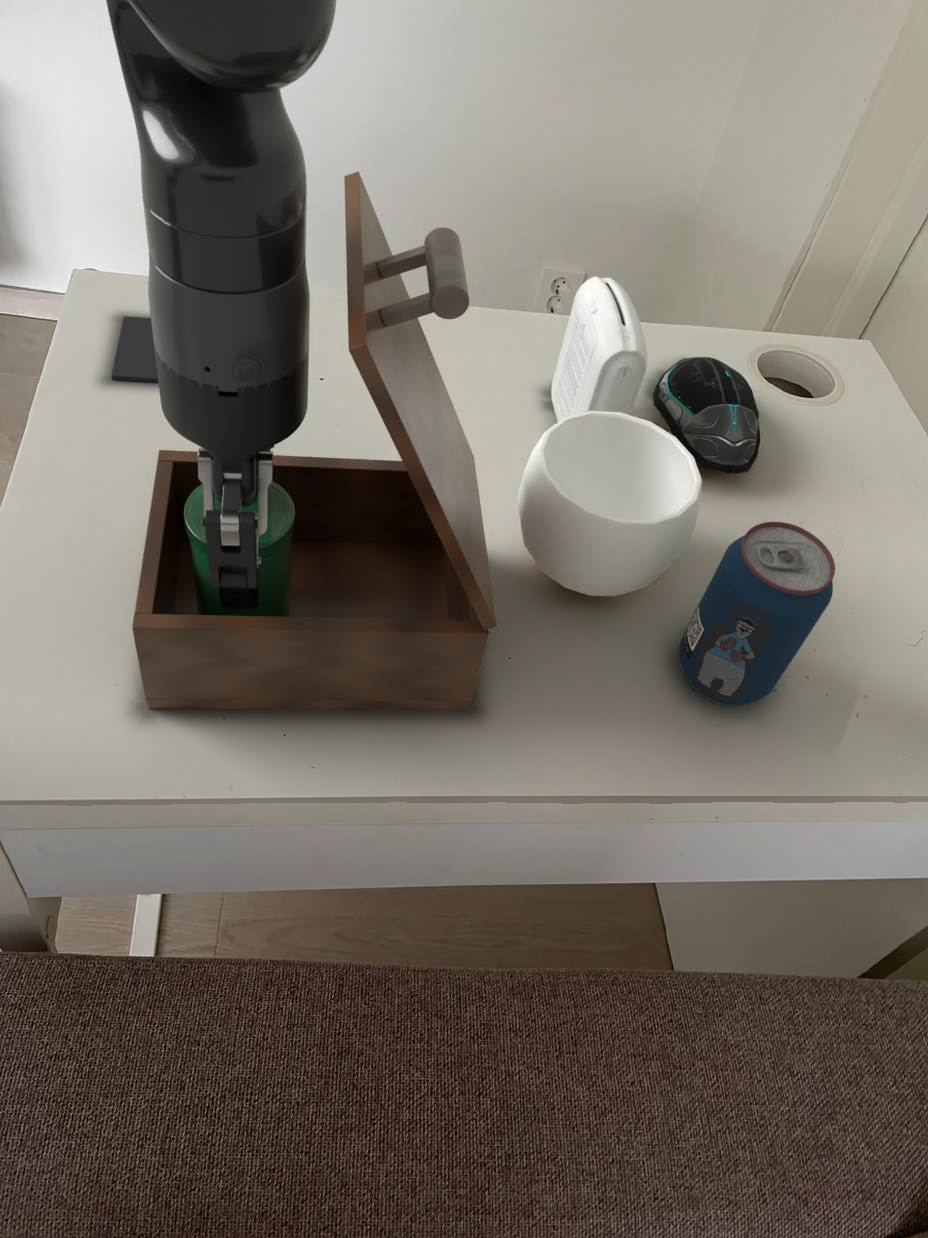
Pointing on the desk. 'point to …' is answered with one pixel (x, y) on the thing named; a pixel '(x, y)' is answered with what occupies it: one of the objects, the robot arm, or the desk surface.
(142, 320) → the mat
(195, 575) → the green pot
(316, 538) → the wooden box
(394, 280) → the lid
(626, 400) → the photo printer
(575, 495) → the cup
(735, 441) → the computer mouse
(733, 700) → the soda can
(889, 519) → the desk surface
